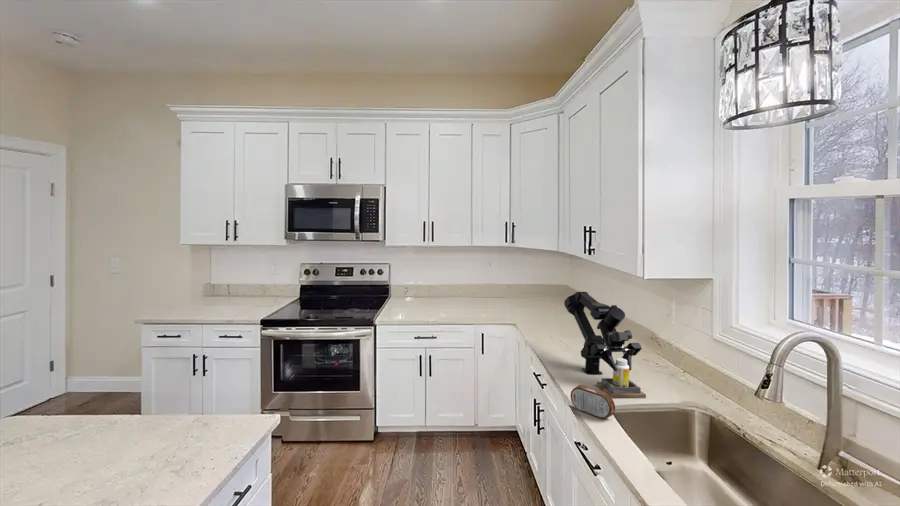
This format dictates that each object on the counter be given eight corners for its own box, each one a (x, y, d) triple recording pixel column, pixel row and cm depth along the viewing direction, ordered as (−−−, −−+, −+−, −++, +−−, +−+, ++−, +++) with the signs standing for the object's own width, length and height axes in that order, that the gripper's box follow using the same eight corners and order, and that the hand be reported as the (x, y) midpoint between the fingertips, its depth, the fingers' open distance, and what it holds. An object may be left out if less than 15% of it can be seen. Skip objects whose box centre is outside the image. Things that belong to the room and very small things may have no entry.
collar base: (596, 385, 172) (596, 377, 172) (628, 385, 173) (629, 377, 173) (610, 398, 159) (611, 389, 159) (645, 398, 160) (646, 389, 160)
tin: (615, 420, 141) (616, 394, 140) (610, 423, 139) (611, 397, 138) (573, 405, 152) (574, 381, 151) (568, 407, 150) (569, 383, 149)
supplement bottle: (628, 385, 168) (629, 358, 167) (628, 390, 163) (629, 362, 162) (612, 382, 170) (614, 356, 169) (612, 387, 165) (613, 360, 164)
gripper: (595, 322, 167) (608, 360, 157) (640, 322, 170) (656, 359, 160) (584, 337, 175) (596, 374, 165) (627, 337, 178) (642, 373, 168)
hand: (623, 370), depth 164 cm, fingers closed on supplement bottle, 5 cm apart
